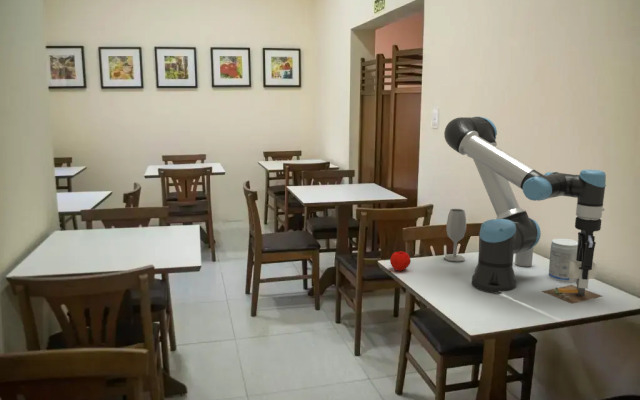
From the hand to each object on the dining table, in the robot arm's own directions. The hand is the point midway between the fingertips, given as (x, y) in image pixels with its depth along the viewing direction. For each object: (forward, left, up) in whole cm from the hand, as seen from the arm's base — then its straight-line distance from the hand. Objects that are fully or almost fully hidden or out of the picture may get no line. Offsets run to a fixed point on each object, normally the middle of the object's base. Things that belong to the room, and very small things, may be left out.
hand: (581, 285), depth 172 cm
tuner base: (-2, +2, -4) cm, 5 cm away
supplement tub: (+10, +15, -5) cm, 19 cm away
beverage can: (+11, +34, -5) cm, 36 cm away
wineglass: (-9, +52, -5) cm, 53 cm away
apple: (-38, +50, -5) cm, 63 cm away
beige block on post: (-1, +1, -3) cm, 3 cm away
